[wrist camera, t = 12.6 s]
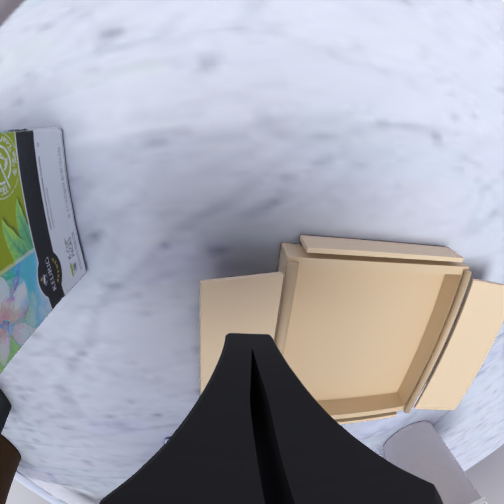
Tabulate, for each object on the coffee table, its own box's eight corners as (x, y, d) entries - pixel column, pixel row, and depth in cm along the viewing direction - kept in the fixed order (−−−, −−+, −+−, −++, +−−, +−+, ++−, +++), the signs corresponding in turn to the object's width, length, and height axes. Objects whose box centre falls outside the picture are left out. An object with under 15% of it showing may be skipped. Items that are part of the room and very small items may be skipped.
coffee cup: (449, 425, 29) (496, 512, 16) (388, 466, 31) (420, 554, 18) (430, 401, 26) (489, 510, 13) (356, 449, 28) (392, 561, 15)
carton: (396, 397, 25) (407, 418, 23) (257, 407, 24) (260, 433, 22) (455, 246, 20) (478, 261, 17) (282, 232, 19) (290, 249, 16)
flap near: (259, 424, 21) (203, 438, 19) (257, 421, 21) (201, 435, 20) (283, 273, 17) (201, 283, 15) (280, 271, 17) (199, 280, 15)
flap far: (414, 406, 23) (454, 407, 22) (414, 408, 22) (454, 410, 22) (472, 278, 18) (515, 286, 17) (473, 280, 18) (516, 288, 17)
